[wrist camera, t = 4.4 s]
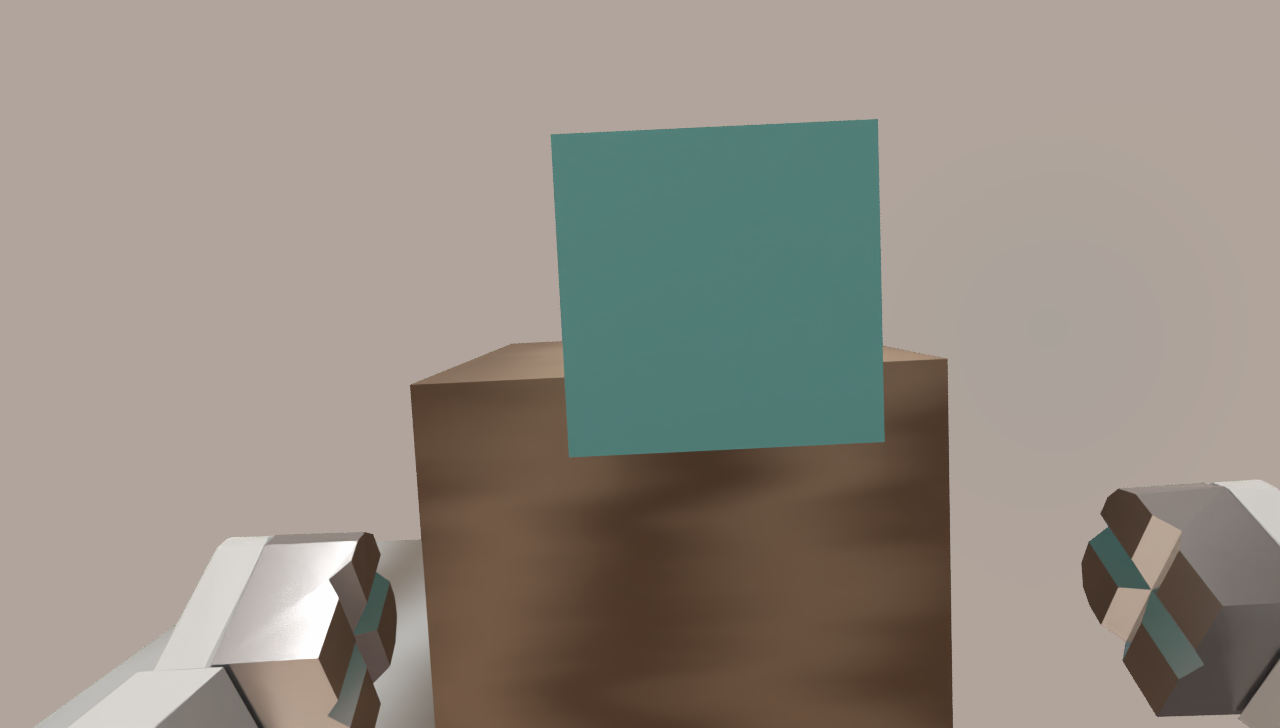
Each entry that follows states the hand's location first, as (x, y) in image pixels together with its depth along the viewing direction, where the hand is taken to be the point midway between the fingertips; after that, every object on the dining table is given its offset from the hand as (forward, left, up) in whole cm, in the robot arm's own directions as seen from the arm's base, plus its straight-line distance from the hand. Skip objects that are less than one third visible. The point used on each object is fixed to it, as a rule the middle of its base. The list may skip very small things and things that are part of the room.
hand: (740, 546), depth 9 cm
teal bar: (0, -12, +1) cm, 12 cm away
